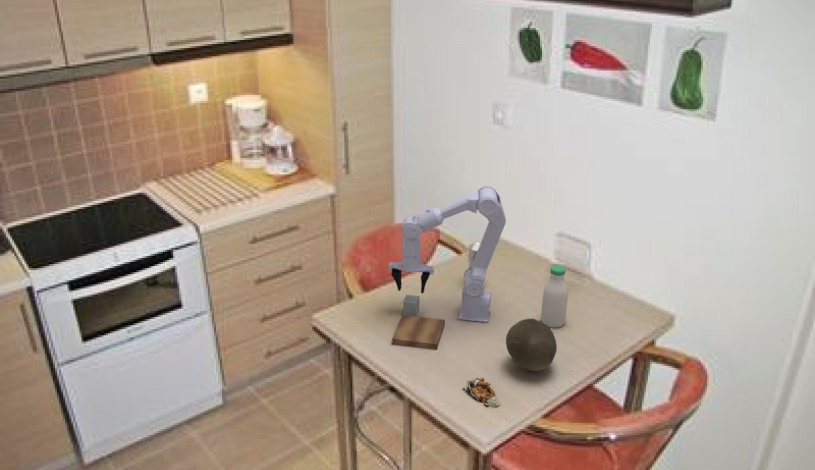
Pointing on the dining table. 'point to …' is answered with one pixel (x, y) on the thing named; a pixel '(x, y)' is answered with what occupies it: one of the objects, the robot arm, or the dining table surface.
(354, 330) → the dining table surface
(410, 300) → the block
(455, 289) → the dining table surface
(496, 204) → the robot arm
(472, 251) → the beer glass
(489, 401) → the turtle figurine
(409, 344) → the board
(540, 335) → the dark brown coconut
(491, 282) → the dining table surface
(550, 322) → the milk bottle
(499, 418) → the dining table surface
